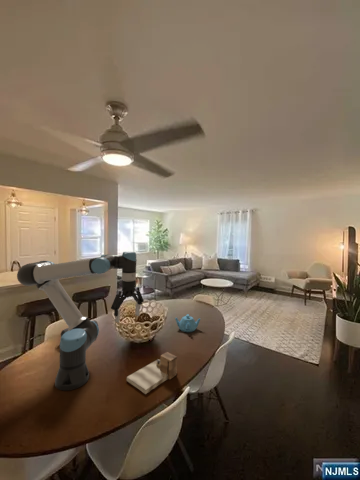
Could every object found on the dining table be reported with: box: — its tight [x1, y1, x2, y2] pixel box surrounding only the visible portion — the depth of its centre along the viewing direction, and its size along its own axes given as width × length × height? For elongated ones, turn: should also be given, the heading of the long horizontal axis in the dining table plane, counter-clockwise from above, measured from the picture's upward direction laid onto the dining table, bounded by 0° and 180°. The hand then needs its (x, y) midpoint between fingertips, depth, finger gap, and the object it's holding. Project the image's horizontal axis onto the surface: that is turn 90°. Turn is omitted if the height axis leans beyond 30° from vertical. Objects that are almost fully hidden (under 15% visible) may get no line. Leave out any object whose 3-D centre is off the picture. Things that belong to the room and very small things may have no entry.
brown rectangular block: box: [156, 351, 178, 380], centre depth 119 cm, size 5×12×10 cm, turn 50°
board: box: [126, 358, 169, 395], centre depth 116 cm, size 22×14×2 cm, turn 141°
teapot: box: [174, 313, 201, 333], centre depth 176 cm, size 15×15×11 cm
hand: (127, 318), depth 123 cm, fingers open, 13 cm apart
